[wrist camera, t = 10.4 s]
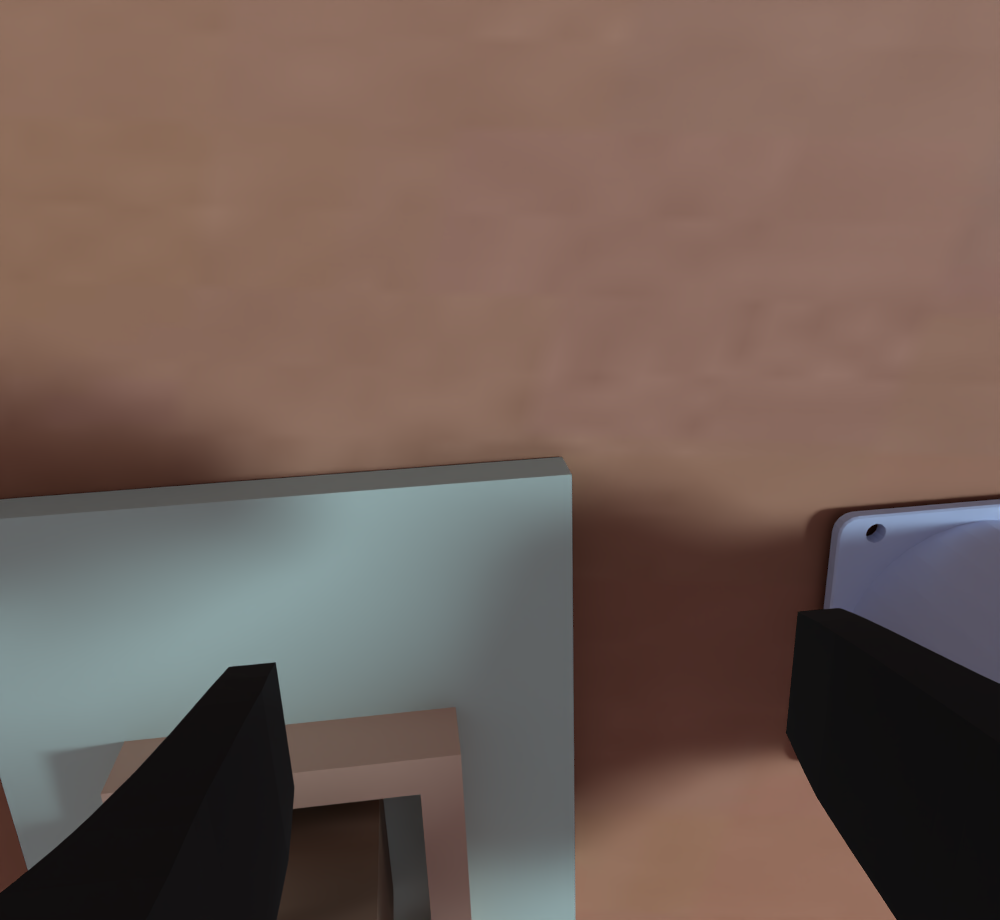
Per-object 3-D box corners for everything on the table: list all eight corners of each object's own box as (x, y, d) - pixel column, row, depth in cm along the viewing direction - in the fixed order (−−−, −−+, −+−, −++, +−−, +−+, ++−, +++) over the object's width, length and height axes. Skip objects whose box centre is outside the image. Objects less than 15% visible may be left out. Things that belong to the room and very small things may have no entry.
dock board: (562, 457, 21) (588, 504, 18) (568, 1036, 27) (589, 1137, 25) (-48, 502, 19) (-123, 562, 16) (121, 1101, 26) (88, 1214, 23)
